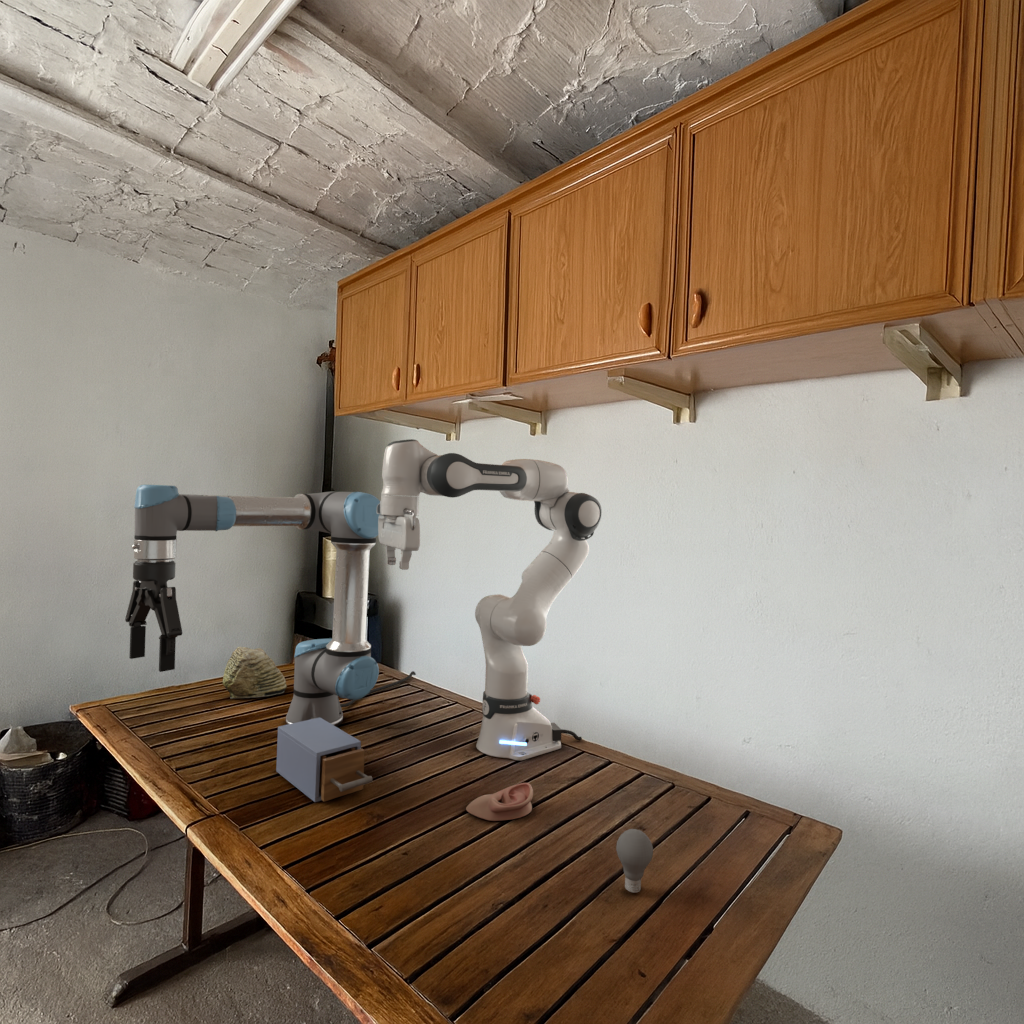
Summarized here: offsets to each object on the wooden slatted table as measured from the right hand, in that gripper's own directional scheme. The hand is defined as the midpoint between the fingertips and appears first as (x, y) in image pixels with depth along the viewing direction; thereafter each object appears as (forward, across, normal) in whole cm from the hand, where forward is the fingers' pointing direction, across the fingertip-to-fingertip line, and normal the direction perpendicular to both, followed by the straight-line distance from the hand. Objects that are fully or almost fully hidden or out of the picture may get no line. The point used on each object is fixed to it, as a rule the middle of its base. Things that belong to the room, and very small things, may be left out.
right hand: (397, 567), depth 149 cm
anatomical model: (+48, -28, -15) cm, 57 cm away
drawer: (+47, -6, +15) cm, 49 cm away
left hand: (+20, +5, +50) cm, 54 cm away
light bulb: (+48, -62, -22) cm, 81 cm away
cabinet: (+48, 0, +17) cm, 50 cm away
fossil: (+48, +67, +22) cm, 85 cm away
